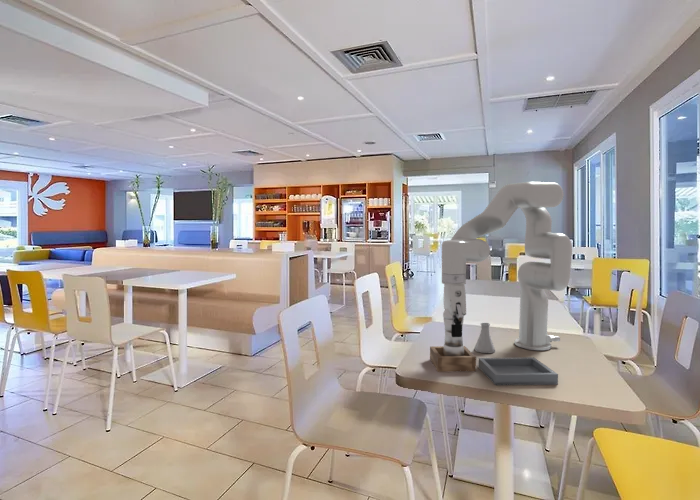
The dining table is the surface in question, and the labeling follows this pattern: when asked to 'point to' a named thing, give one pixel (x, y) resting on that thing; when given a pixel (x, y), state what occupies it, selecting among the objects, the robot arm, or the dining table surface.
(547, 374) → the parts tray
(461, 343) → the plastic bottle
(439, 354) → the holder
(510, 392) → the dining table surface
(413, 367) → the dining table surface
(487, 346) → the flask
